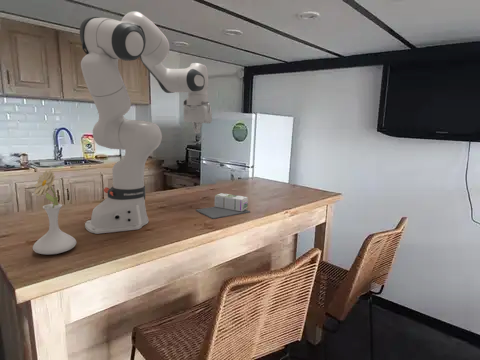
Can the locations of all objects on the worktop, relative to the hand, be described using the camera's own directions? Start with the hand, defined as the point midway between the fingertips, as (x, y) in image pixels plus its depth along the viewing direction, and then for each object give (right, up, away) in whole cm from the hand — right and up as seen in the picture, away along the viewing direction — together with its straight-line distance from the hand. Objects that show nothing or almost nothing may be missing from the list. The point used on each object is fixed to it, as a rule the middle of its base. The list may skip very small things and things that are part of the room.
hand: (197, 132), depth 146 cm
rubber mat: (+12, -36, -3) cm, 38 cm away
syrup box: (+9, -31, +4) cm, 32 cm away
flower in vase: (-35, -43, -50) cm, 75 cm away
